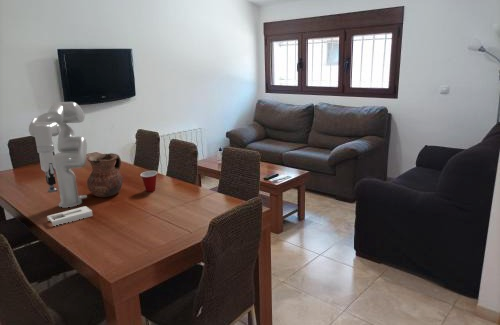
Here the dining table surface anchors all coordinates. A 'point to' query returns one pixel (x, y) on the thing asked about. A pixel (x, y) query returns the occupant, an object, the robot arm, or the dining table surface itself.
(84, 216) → the keyhole plate
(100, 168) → the jug
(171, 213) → the dining table surface
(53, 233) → the dining table surface
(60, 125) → the robot arm
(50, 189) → the peg
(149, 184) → the plastic cup
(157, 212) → the dining table surface
